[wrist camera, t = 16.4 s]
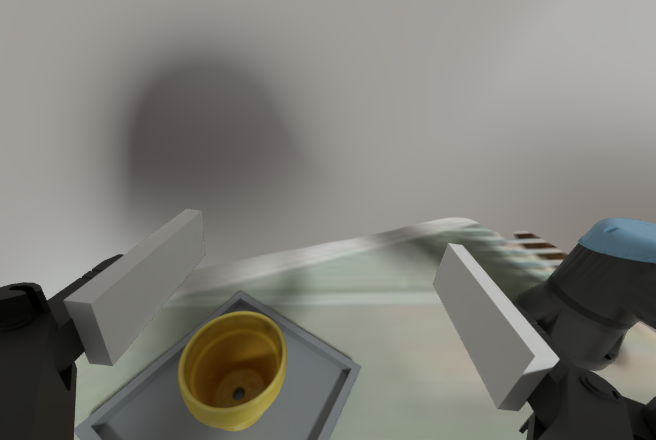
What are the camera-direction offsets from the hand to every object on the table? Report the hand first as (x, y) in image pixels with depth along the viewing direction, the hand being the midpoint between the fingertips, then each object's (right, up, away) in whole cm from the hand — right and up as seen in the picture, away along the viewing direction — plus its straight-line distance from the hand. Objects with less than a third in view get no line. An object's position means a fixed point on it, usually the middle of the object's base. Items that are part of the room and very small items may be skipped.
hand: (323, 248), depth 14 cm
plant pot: (-10, -20, +17) cm, 28 cm away
